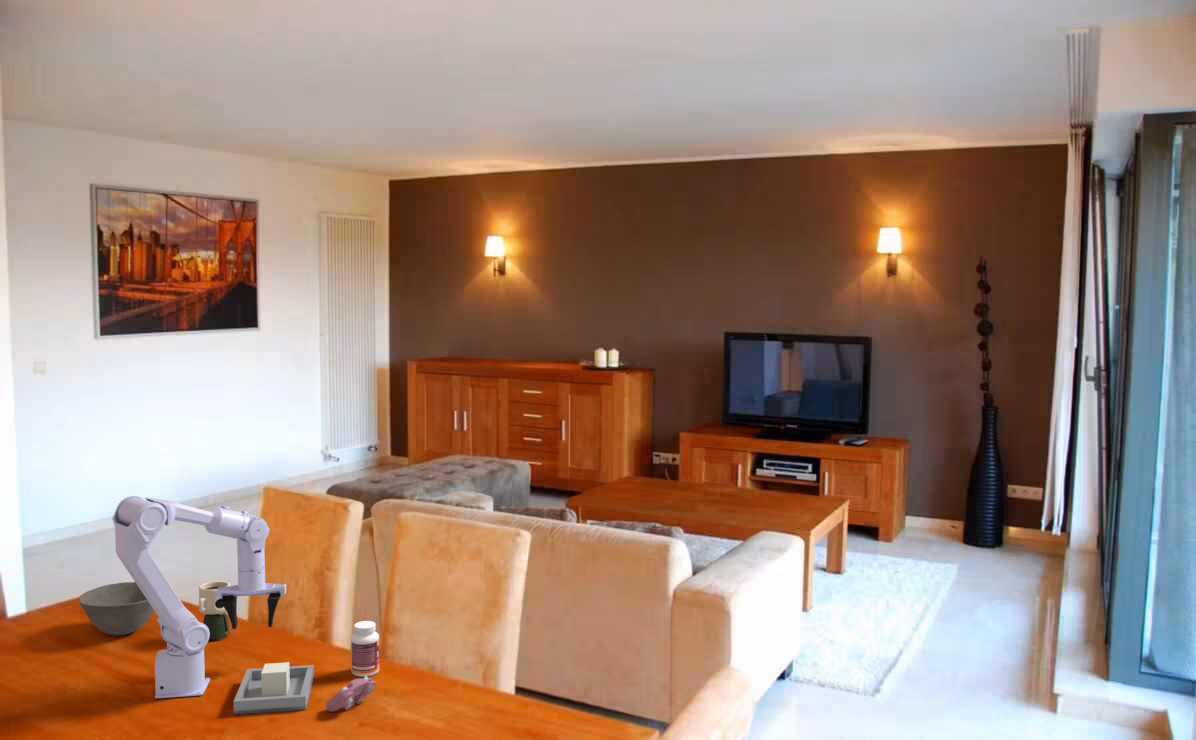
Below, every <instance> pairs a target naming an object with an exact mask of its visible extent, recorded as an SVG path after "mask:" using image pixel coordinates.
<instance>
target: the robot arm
mask: <svg viewBox="0 0 1196 740" xmlns="http://www.w3.org/2000/svg"><path fill="white" fill-rule="evenodd" d="M111 518H112V519H111V520H112V523H113V525H114V530H115V531H114V535H115V537H114V538H115V553H116V555H117V558H118V559H119V560H120V562H121V563H122V565H123V567H124V568H125V569H126V571H127V572H128V574H129V575H130V577H131V578H132V579H133V582H136V584H137V585H138V587H139V588H140V590H141V591H142V593H143V594H144V596H145V597H146V599H147V600H148V602H149V603H150V605H151V606H152V608H153V609H154V613H156V615H157V617H158V618H157V623H158V625H159V627H160V635H161V637H162V639H163V640H164V641H165V642H166V649H161V650H158V652H157V653H156V655H155V661H154V681H155V686H154V687H155V695H154V698H155V699H165V698H182V697H196V696H203V694H204V693H205V691H206V689H207V687H208V685H209V683H210V681H211V678H210V677H205V676H206V675H205V672H206V670H205V667H206V666H205V647H206V646H207V644H208V643H209V640H210V639H209V636H210V632H209V629H208V627H207V626H206V625H205V624H203V622H200V621H198V619H197V618H196V616H195V615H194V614H193V613H192V612H191V611H190V610H188V609H187V607H185V605H184V604H183V602H182V601H181V599H180V598H179V596H178V595H177V593H176V592H175V589H174V588H173V586H171V584H170V582H169V580H167V577H166V576H165V575H164V573H163V572H162V570H161V569H160V567H159V565H158V564H157V563H156V561H155V559H154V557H153V556H152V555H151V553H150V552H149V547H150V545H151V544H152V543H153V541H154V540H155V539H156V537H157V536H158V534H159V533H160V532H161V530H162V529H163V528H164V526H165V525H166V526H170V525H172V524H173V523H174V522H175V521H179V522H183V523H184V522H185V523H191V524H195V525H199V526H204V529H205V530H206V532H207V533H209V534H213V535H218V536H222V537H227V538H232V539H236V548H237V549H236V551H237V554H236V555H237V584H234V585H230V586H227V587H219V588H218V589H217V598H222V605H223V607H224V608H225V610H226V614H227V617H228V619H229V621H230V624H231V629H232V630H236V629H237V628H238V614H237V613H238V612H237V608H238V607H237V602H238V597H250V596H268V597H267V599H266V602H267V611H268V617H267V619H268V620H267V625H268V628H272V627H273V624H274V618H275V612H276V609H277V606H278V603H279V601H280V599H281V596H285V595H286V593H287V584H286V583H271V582H270V583H269V582H268V583H267V582H266V565H265V564H266V561H265V560H266V559H265V547H266V539H268V536H269V533H270V530H271V529H270V527H268V523H267V521H266V520H265V519H264V518H262V517H260V516H256V515H253V514H250V513H249V512H248V511H244V510H241V511H238V510H237V511H236V510H231V507H230V506H228V505H227V506H226V505H224V504H222V505H221V506H216V507H213V508H210V509H209V510H205V509H201V508H197V507H194V506H190V505H186V504H183V503H178V502H176V501H175V502H174V501H171V500H167V499H160V498H154V497H144V498H142V497H141V496H136V495H131V496H127V497H125V498H123V499H122V500H121V501H120V502H119V503H118V504H117V507H116V508H115V511H114V513H113V515H112V517H111Z"/></svg>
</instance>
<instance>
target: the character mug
mask: <svg viewBox="0 0 1196 740" xmlns="http://www.w3.org/2000/svg"><path fill="white" fill-rule="evenodd" d="M227 586H231V583H229V582H228V581H225V580H217V581H216V580H213V581H208V582H205V583H202V584H200V585H199V586H198V611H199V613H201V614H203V615H204V616H203V620H202V623H203V624H205V625H206V626H207V627H208V629H209V632H210V636H209V640H218V639H222V638H225V637H226V632H227V636H229V635H230V634H231V633H230V625H229V624H230V623H229V617H228V613H227V612H226V610H225V608H224V607H223V605H222V598H217V589H218V588H219V587H227Z"/></svg>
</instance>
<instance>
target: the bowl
mask: <svg viewBox="0 0 1196 740" xmlns="http://www.w3.org/2000/svg"><path fill="white" fill-rule="evenodd" d="M78 603H79V605H80V607H81V608H82V610H83V611H84V614H85V615H86V616H87V618H88V620H89V621H90V623H92V624H93V626H95V627H96V628H97V630H99V631H100V632H102V633H104V634H105V635H109V636H116V637H117V636H125V635H129V634H131V633H134V632H135V631H137V630H139V629H140V628H141V627H143V625H145V624H146V623H147V622H148V621H149V619H151V617H152V615H153V614H154V613H155V611H154V609H153V608H152V606H151V605H150V603H149V602H148V600H147V599H146V597H145V596H144V594H143V593H142V591H141V590H140V588H139V587H138V585H137V584H136V582H135V581H129V582H126V581H125V582H117V583H111V584H107V585H103V586H99V587H96V588H93V589H91V590H88V591H86V592H84V593H82V594H81V595H80V596H79V597H78Z"/></svg>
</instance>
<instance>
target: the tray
mask: <svg viewBox="0 0 1196 740" xmlns="http://www.w3.org/2000/svg"><path fill="white" fill-rule="evenodd" d="M289 666H290V686H289V689H288V692H287V695H276V696H262V685H261V673H262V670H263V668H264V667H263V668H261V667H260V668H247V669H246V672H245V673H244V677H243V678H242V681H241V683H240V686H239V688H238V690H237V693H236V695H235V697H234V700H233V716H236V715H235V714H240V715H248V714H247V713H254V714H265V713H277V712H278V713H280V712H294V711H305V710H307V706H308V704H309V699H310V694H311V691H312V686H313V684H312V683H313V682H314V680H313V679H315V664H309V665H305V664H304V665H293V666H291V665H289ZM263 712H264V713H263ZM245 713H246V714H245Z"/></svg>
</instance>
